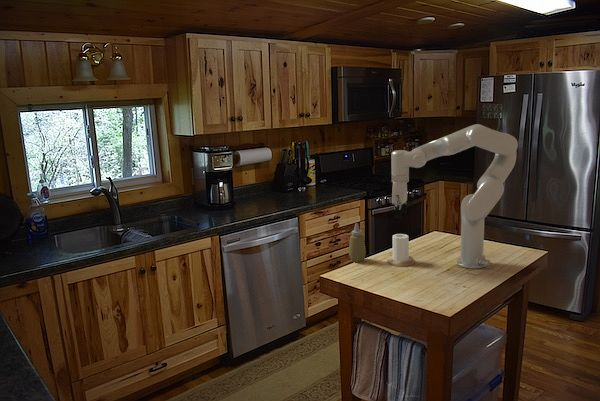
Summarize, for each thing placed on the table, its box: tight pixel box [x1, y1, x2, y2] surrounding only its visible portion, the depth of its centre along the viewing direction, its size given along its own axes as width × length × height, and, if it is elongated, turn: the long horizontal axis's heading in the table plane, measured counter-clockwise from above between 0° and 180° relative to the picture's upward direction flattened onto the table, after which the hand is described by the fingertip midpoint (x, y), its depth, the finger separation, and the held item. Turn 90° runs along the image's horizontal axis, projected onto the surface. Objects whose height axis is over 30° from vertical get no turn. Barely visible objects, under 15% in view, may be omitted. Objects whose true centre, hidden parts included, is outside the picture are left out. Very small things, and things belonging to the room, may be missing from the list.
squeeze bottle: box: [348, 222, 367, 263], centre depth 225 cm, size 8×8×18 cm
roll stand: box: [386, 255, 415, 268], centre depth 220 cm, size 12×12×10 cm
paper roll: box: [392, 233, 410, 262], centre depth 220 cm, size 7×7×11 cm
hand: (400, 215), depth 217 cm, fingers open, 9 cm apart
